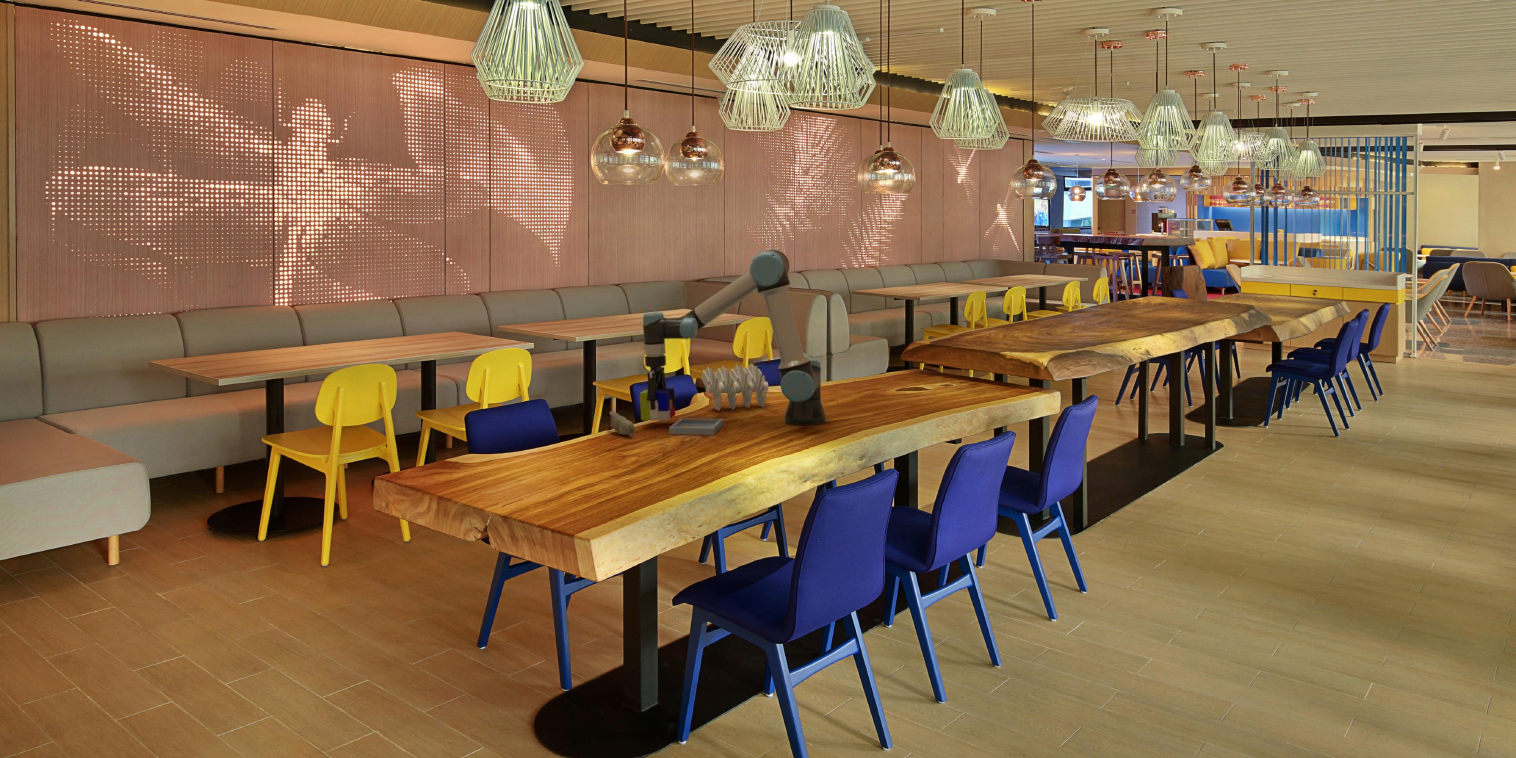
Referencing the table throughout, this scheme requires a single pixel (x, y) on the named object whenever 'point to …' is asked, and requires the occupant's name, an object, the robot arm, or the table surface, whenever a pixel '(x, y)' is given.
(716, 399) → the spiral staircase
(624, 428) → the decorative bird
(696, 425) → the tray
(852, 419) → the table surface
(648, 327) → the robot arm
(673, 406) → the puzzle toy
